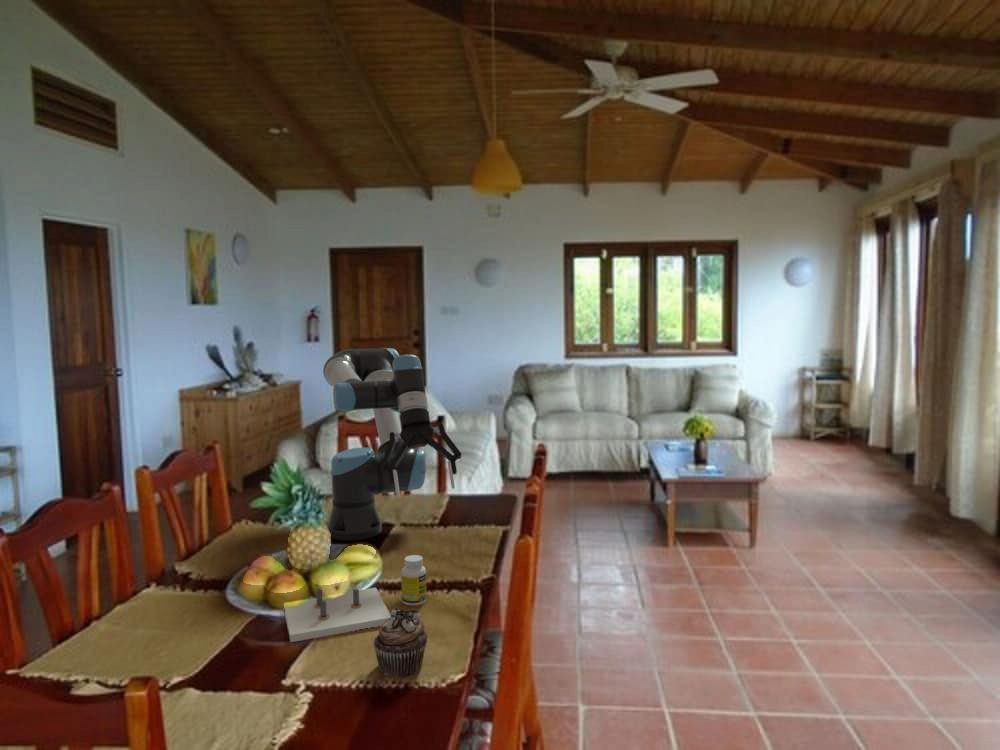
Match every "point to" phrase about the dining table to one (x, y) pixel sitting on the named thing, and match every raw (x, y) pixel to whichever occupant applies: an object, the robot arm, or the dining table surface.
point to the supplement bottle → (413, 581)
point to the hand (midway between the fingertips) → (425, 492)
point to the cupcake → (401, 644)
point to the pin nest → (336, 614)
